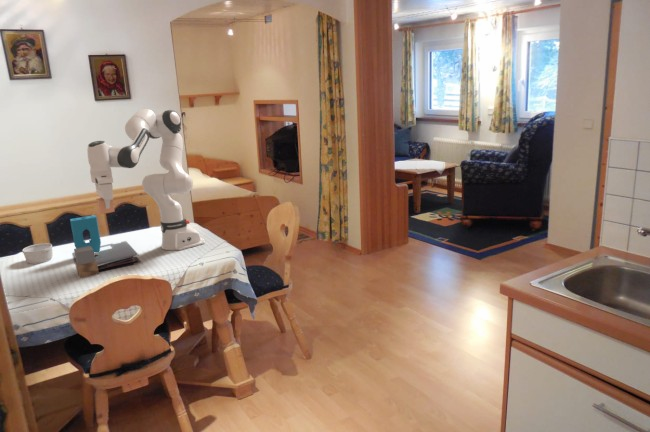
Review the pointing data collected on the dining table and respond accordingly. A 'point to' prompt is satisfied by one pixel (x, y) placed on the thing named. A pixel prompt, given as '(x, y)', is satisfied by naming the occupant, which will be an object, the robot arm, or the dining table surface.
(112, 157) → the robot arm
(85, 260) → the tower top
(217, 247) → the dining table surface
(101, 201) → the terracotta cube
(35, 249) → the ramekin
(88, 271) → the tower base
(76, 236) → the block
